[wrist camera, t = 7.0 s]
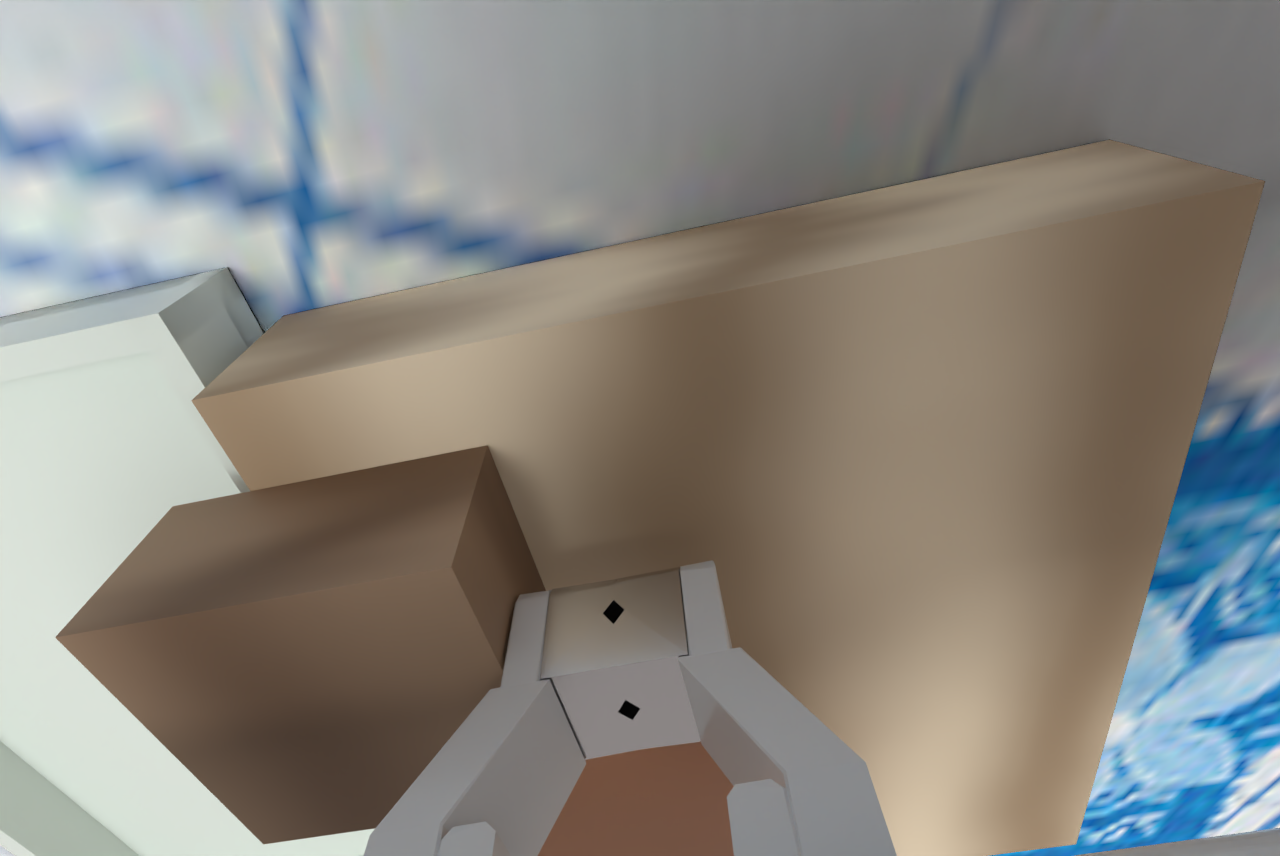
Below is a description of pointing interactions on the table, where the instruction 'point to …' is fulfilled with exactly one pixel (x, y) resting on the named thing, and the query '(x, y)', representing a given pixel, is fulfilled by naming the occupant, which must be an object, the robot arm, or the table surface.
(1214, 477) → the table surface
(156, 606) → the walnut tile
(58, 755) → the tray
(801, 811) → the robot arm
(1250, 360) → the table surface
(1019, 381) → the board
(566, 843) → the terracotta tile
